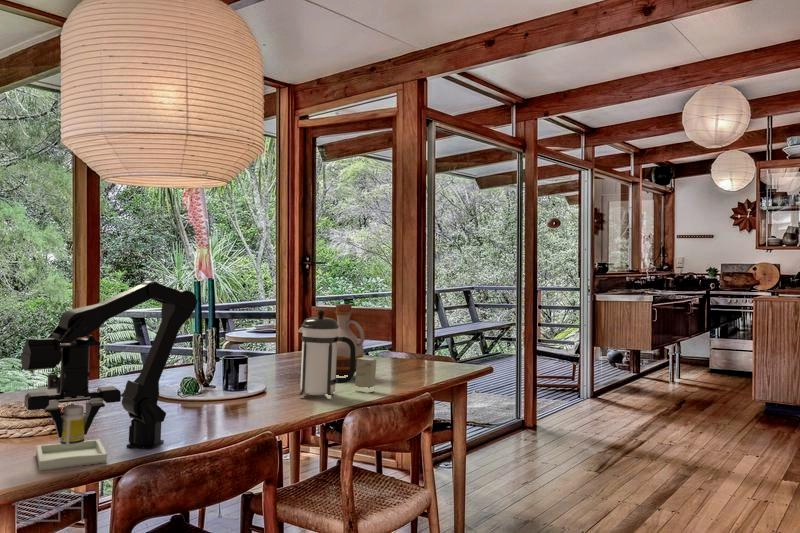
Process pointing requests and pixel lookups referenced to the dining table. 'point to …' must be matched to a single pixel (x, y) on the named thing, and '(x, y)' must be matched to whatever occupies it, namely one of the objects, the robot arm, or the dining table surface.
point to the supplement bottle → (72, 426)
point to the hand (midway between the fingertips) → (72, 435)
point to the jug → (343, 347)
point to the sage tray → (70, 455)
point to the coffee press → (322, 355)
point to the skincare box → (365, 372)
